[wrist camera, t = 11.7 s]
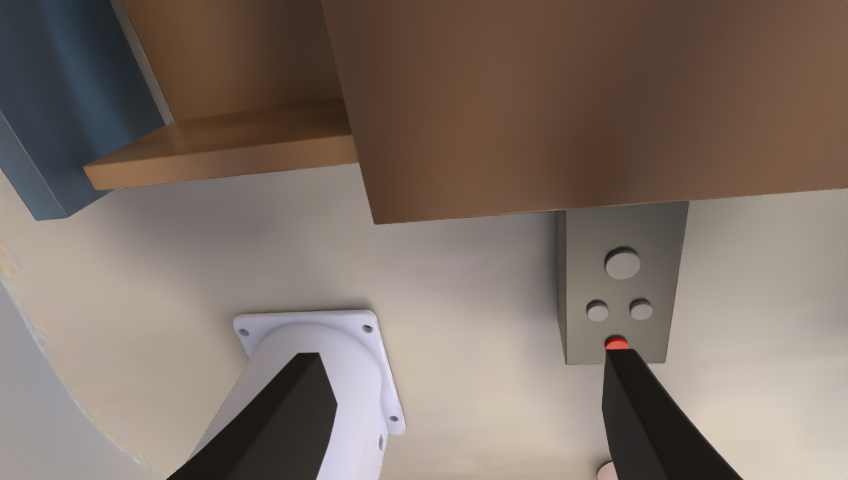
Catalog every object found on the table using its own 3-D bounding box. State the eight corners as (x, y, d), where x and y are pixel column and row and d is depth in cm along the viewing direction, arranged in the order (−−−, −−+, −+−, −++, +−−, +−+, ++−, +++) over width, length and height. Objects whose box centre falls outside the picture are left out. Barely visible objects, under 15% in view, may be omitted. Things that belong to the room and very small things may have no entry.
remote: (664, 158, 17) (694, 191, 15) (646, 319, 21) (667, 367, 19) (555, 168, 18) (565, 202, 15) (558, 321, 22) (566, 368, 19)
